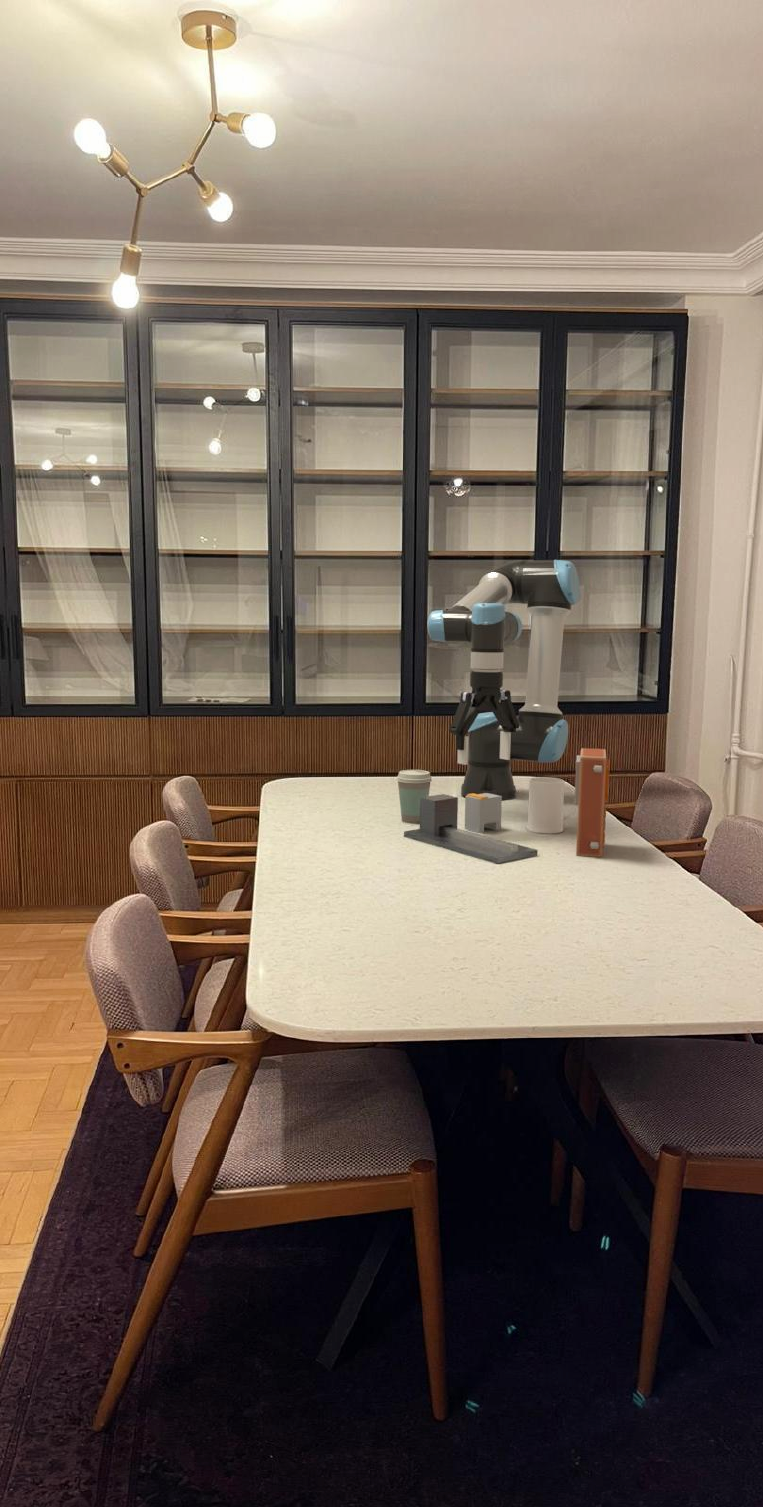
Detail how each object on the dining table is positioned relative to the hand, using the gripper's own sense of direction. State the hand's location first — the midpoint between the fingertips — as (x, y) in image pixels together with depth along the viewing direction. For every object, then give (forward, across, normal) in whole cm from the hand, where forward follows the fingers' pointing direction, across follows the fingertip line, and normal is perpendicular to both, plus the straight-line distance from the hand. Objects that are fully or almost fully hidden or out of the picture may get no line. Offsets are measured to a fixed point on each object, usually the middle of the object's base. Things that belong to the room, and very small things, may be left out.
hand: (484, 761), depth 243 cm
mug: (+16, -13, +10) cm, 23 cm away
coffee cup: (+16, +7, -17) cm, 25 cm away
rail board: (+16, +14, +10) cm, 24 cm away
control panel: (+16, -5, +28) cm, 33 cm away
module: (+16, 0, 0) cm, 16 cm away
